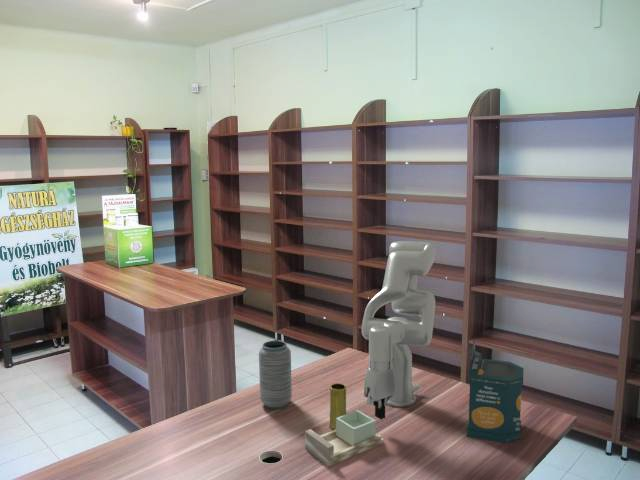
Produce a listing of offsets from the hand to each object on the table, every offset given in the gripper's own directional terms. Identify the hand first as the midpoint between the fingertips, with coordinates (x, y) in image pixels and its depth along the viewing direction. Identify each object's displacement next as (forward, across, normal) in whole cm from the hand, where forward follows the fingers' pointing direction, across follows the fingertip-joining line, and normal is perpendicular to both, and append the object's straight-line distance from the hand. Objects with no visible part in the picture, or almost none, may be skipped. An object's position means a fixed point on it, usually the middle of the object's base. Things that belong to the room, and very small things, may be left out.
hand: (380, 417), depth 178 cm
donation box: (+5, -31, +22) cm, 39 cm away
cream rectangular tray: (+5, +15, 0) cm, 16 cm away
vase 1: (+5, +17, -38) cm, 42 cm away
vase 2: (+5, +9, -11) cm, 15 cm away
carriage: (+4, +10, 0) cm, 11 cm away
